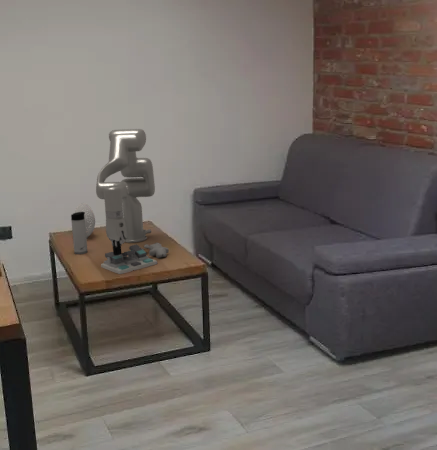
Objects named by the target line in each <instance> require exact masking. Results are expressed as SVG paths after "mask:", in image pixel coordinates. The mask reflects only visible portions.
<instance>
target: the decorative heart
mask: <svg viewBox="0 0 437 450" xmlns="http://www.w3.org/2000/svg"><path fill="white" fill-rule="evenodd" d="M77 212H85V214H84V218H85V228H86V240H88V237H89V236H91V235H92V234H93V232H94V230H95V227H96V216H95V213H94V211H93V210H92V208H91V206H89V204H87V203H84V202H82V203H80V204H78V205H77V206H76V208H75V210H74V213H77Z"/></svg>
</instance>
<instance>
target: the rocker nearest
mask: <svg viewBox="0 0 437 450" xmlns="http://www.w3.org/2000/svg"><path fill="white" fill-rule="evenodd" d="M128 248H129V249H128V250H129V251H131V250H134V251H135V255H136V256H137V257H139V258H140V257H144V256H148V255H147V252H146V251H145V249H144V248H142V247H140V245H139V244H132V245H129V247H128ZM143 249H144V250H143Z"/></svg>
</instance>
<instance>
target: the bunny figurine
mask: <svg viewBox="0 0 437 450" xmlns="http://www.w3.org/2000/svg"><path fill="white" fill-rule="evenodd" d="M143 249H148V250H149V251H148V255H149V256H150V257H155V258H156V259H161V258H166V257H167V254H168V253H169V247H165V246H162V243H160V242H155V243H153V244H144V246H143Z"/></svg>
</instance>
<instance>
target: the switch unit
mask: <svg viewBox="0 0 437 450" xmlns="http://www.w3.org/2000/svg"><path fill="white" fill-rule="evenodd" d="M142 249H143V250H144V251H145V248H142ZM134 253H135V251H134ZM119 256H121V257H123V255H122V254H120V255H119ZM155 265H158V261H157V260H156V259H152V258H150V257H149V256H148V255H146V256H144V257H140V258H139V257H137V256H136V255H135V254H131V255H128V256H124V257H123V261H120V262H116V263H114V262H113V261H111V258H109V257H107V258H106V260H103V263H101V264H100V268H103V269H105V270H107V271H110V272H113V273H115V274H118V275H122V274H126V273H129V272H133V270H134V271H137V270H140V269H144V268H148V267H151V266H155Z"/></svg>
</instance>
